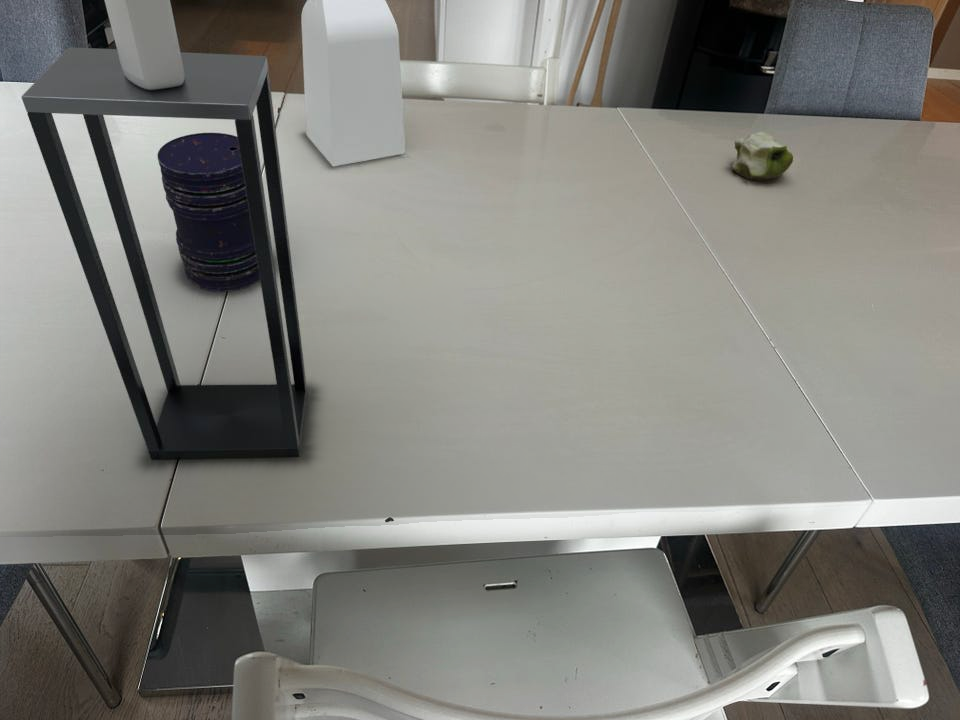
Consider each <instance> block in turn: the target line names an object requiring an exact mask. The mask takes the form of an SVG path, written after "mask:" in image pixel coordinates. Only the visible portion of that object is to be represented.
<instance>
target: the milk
mask: <svg viewBox="0 0 960 720" xmlns="http://www.w3.org/2000/svg"><path fill="white" fill-rule="evenodd" d="M300 17H301V18H300V19H301V45H302V46H301V47H302V65H303V84H304V85H303V87H304V88H303V90H304V111H305V113H304V114H305V135H306V137H307V138H308V140H310V142H311V143H312V144H313V145H314V147H316V148H317V150H318V151H319V152H320V154H322V155H323V157H324V158H325V159H326V160H327V162H328V163H329V164H330V166H332V167H339V166H344V165H350V164H355V163H360V162H366V161H372V160H377V159H382V158H383V159H384V158H388V157H394V156H398V155H403V154H406V144H405V143H406V141H405V125H404V124H405V123H404V108H403V107H404V106H403V105H404V104H403V87H402V69H401V53H400V52H401V51H400V35H399V29H398V25H397V23H396V20H395V18H394V15H393V13H392V11H391V8H390V7H389V5H388V3H387V1H386V0H306V1H305V3H304V5H303V8H302V11H301V16H300Z"/></svg>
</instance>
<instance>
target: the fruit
mask: <svg viewBox="0 0 960 720" xmlns="http://www.w3.org/2000/svg"><path fill="white" fill-rule="evenodd" d="M787 147H788V146H787V145H782V144H780V143H779V142H778V141H777V140H776V139H774V137H773V136H772V135H769V134H767V133H766V132H764V131H758V132H756V133H751V134H749V135H748V136H747V137H745V138H744V137H739V138H737V139H735V140H734V149H735V150H736V152H737V153H736V160H735V161H734V162H733V164H732V165H731V168H732V170H734V171H735V173H737V174H738V175H739V176H740V177H743V178H746V179H749V180H754V181H768V180H769V181H770V180H773V179H775V178H778V177H780V176H781V175H782V174H784V173H785V172H787V170H788V169H789V168H790V167H791V165H792V164H793V161H794V155H793V153H792V152H791V151H789V150H788V148H787Z"/></svg>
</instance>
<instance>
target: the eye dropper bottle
mask: <svg viewBox="0 0 960 720" xmlns="http://www.w3.org/2000/svg"><path fill="white" fill-rule="evenodd" d="M104 4H105V8H106V12H107V16H108V20H109V24H110V28H111V30H112V35H113V39H114V42H115V47H116V49H117V51H118V55H119V59H120V63H121V66H122V70H123V72H124V74H125V76H126V77H127V79H128V80H130V81H131V82H132V83H134V84H136V85H137V86H139V87H142V88H144V89H148V90H157V89H164V88H170V87H176V86H180V85H182V84H183V82H184V77H185V76H184V68H183V63H182V58H181V53H180V52H181V48H180V43H179V39H178V34H177V28H176V23H175V19H174V13H173V8H172V3H171V0H104Z"/></svg>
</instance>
